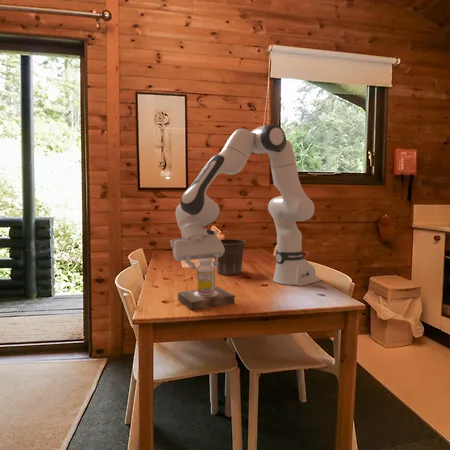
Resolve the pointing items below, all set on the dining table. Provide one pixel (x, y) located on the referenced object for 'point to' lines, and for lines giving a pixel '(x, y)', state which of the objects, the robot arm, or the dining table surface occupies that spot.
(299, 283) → the robot arm
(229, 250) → the plant pot
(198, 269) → the supplement bottle
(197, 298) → the walnut board
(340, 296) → the dining table surface
